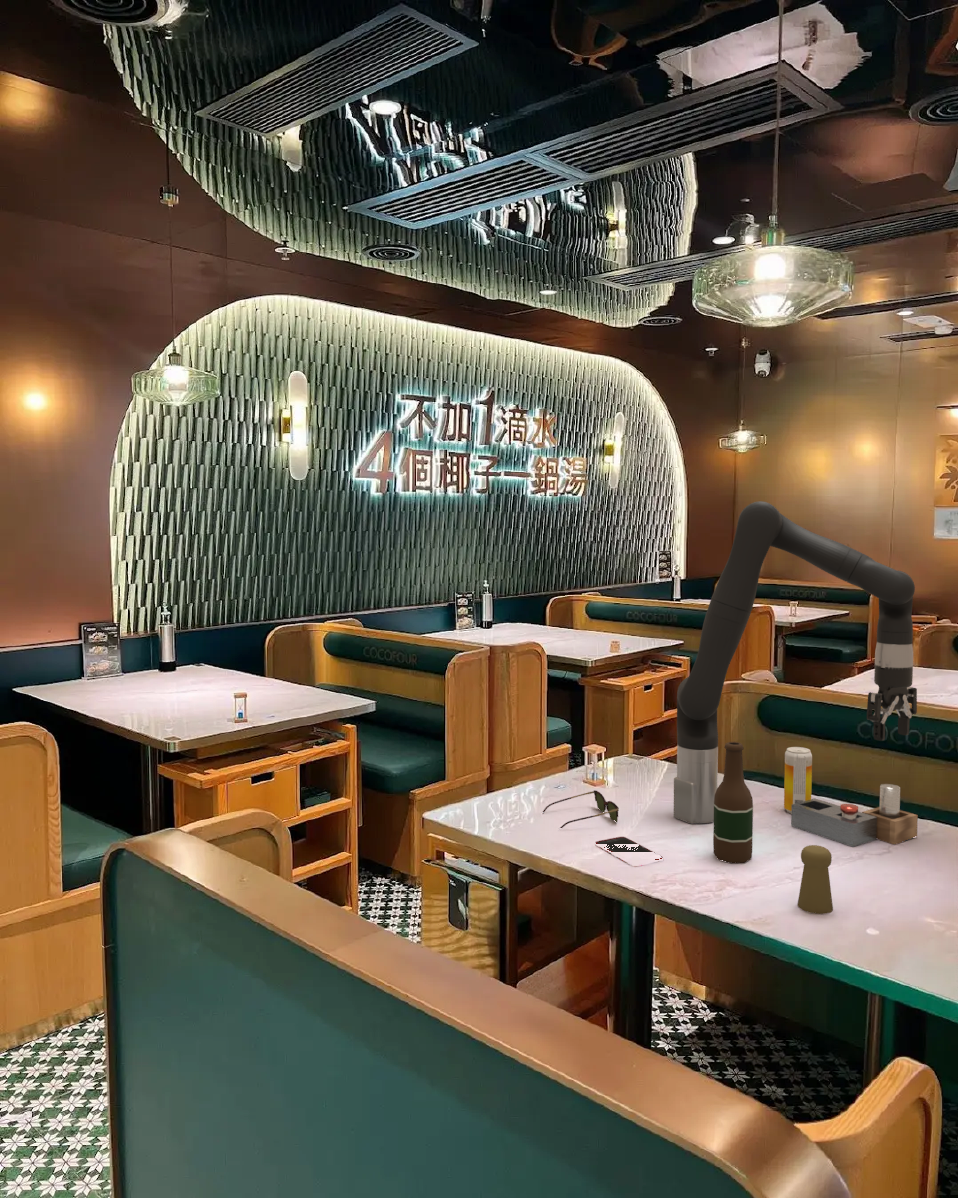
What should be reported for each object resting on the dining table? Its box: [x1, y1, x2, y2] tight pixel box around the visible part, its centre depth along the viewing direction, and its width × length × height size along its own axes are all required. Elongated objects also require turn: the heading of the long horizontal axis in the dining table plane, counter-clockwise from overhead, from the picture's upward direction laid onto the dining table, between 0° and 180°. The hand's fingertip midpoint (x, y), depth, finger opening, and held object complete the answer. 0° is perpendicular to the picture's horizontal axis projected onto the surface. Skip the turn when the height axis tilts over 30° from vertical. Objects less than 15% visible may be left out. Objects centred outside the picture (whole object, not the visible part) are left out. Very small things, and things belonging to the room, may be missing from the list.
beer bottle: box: [712, 741, 754, 864], centre depth 188 cm, size 8×8×24 cm
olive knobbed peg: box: [797, 844, 834, 915], centre depth 164 cm, size 6×6×11 cm
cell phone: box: [595, 836, 664, 860], centre depth 192 cm, size 8×15×1 cm, turn 26°
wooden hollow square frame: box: [861, 806, 918, 845], centre depth 200 cm, size 8×8×5 cm
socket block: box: [790, 798, 877, 848], centre depth 202 cm, size 8×16×5 cm, turn 32°
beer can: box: [783, 746, 813, 815], centre depth 217 cm, size 6×6×15 cm
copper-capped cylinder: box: [839, 803, 859, 820], centre depth 199 cm, size 4×4×6 cm
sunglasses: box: [542, 790, 620, 829], centre depth 214 cm, size 14×15×5 cm
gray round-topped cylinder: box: [879, 783, 901, 819], centre depth 200 cm, size 4×4×11 cm
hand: (891, 737), depth 199 cm, fingers open, 8 cm apart
